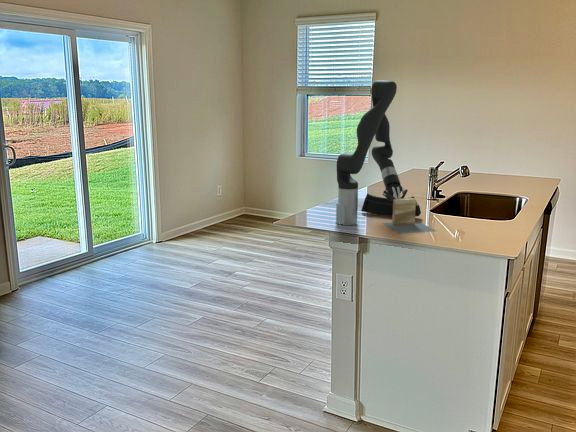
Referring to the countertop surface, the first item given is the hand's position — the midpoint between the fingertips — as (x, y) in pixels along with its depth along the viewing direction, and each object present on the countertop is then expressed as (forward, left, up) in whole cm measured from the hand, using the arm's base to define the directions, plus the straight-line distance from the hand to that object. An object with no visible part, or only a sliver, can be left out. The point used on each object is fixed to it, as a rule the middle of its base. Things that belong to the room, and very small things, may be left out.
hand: (399, 207), depth 244 cm
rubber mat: (-3, -10, -7) cm, 13 cm away
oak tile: (-2, -4, -7) cm, 8 cm away
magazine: (+6, +13, -8) cm, 16 cm away
